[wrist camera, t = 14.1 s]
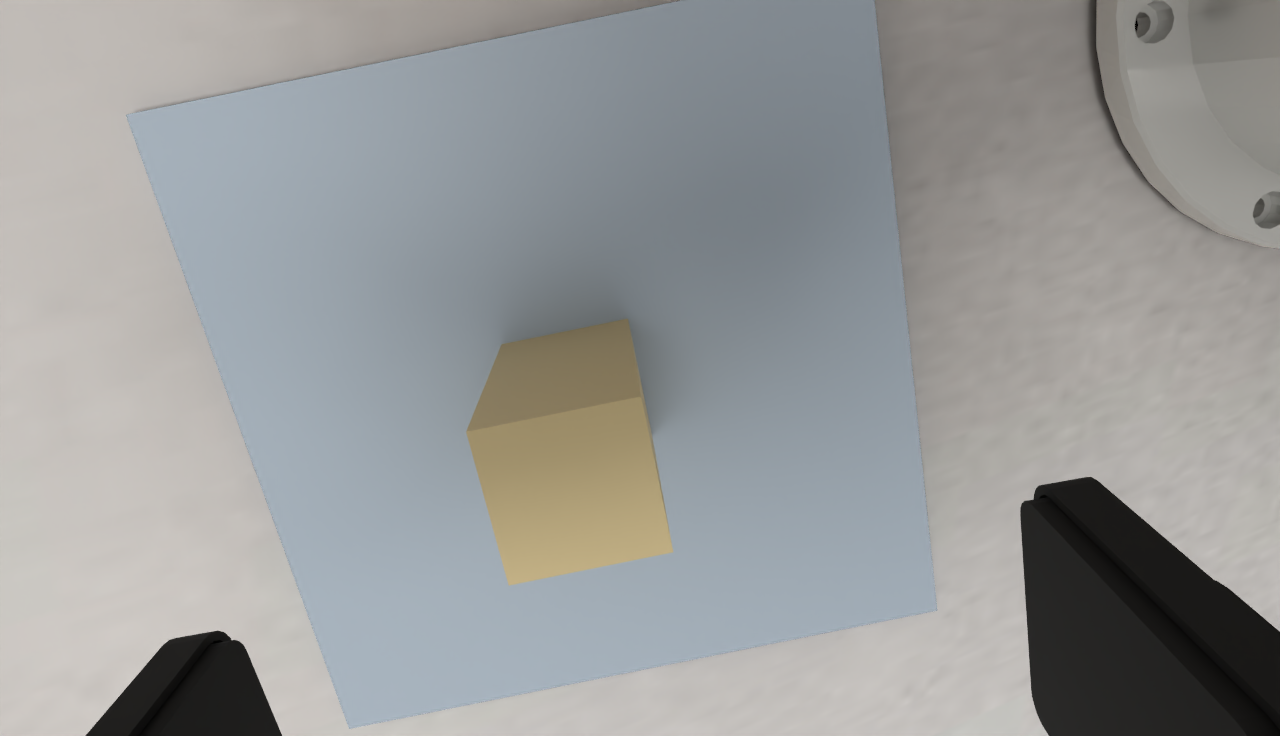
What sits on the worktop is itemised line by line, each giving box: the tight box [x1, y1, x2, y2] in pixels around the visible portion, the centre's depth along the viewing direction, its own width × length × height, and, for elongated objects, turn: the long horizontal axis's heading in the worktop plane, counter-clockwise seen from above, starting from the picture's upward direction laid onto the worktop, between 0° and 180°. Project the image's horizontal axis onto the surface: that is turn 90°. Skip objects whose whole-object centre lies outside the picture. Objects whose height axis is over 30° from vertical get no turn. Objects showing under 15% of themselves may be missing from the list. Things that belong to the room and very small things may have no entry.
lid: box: [126, 0, 937, 729], centre depth 19 cm, size 17×17×7 cm
